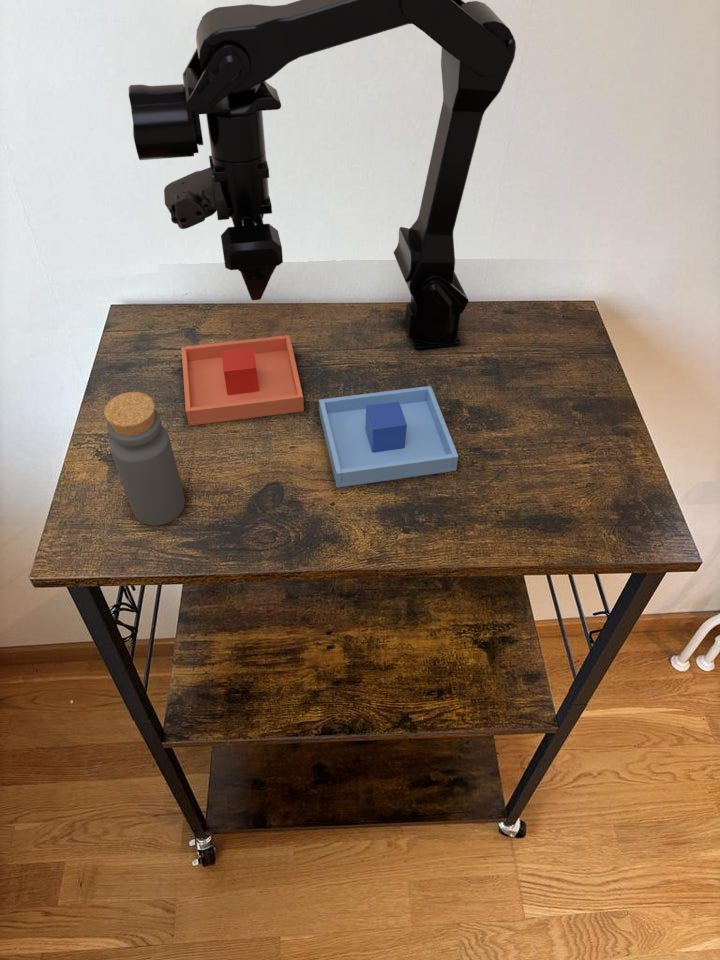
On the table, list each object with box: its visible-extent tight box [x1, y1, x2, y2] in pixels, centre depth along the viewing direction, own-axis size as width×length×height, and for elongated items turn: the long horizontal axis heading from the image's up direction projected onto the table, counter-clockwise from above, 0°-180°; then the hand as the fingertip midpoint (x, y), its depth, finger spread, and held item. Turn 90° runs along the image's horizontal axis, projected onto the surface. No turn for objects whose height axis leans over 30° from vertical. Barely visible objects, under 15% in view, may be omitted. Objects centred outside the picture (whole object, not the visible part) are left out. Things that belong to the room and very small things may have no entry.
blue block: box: [365, 402, 407, 453], centre depth 87 cm, size 4×4×4 cm
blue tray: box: [318, 385, 459, 488], centre depth 87 cm, size 14×12×2 cm
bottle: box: [103, 391, 186, 527], centre depth 76 cm, size 6×6×15 cm
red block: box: [221, 347, 259, 395], centre depth 92 cm, size 4×4×4 cm
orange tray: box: [181, 334, 305, 427], centre depth 93 cm, size 14×12×2 cm
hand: (252, 277), depth 89 cm, fingers open, 9 cm apart
